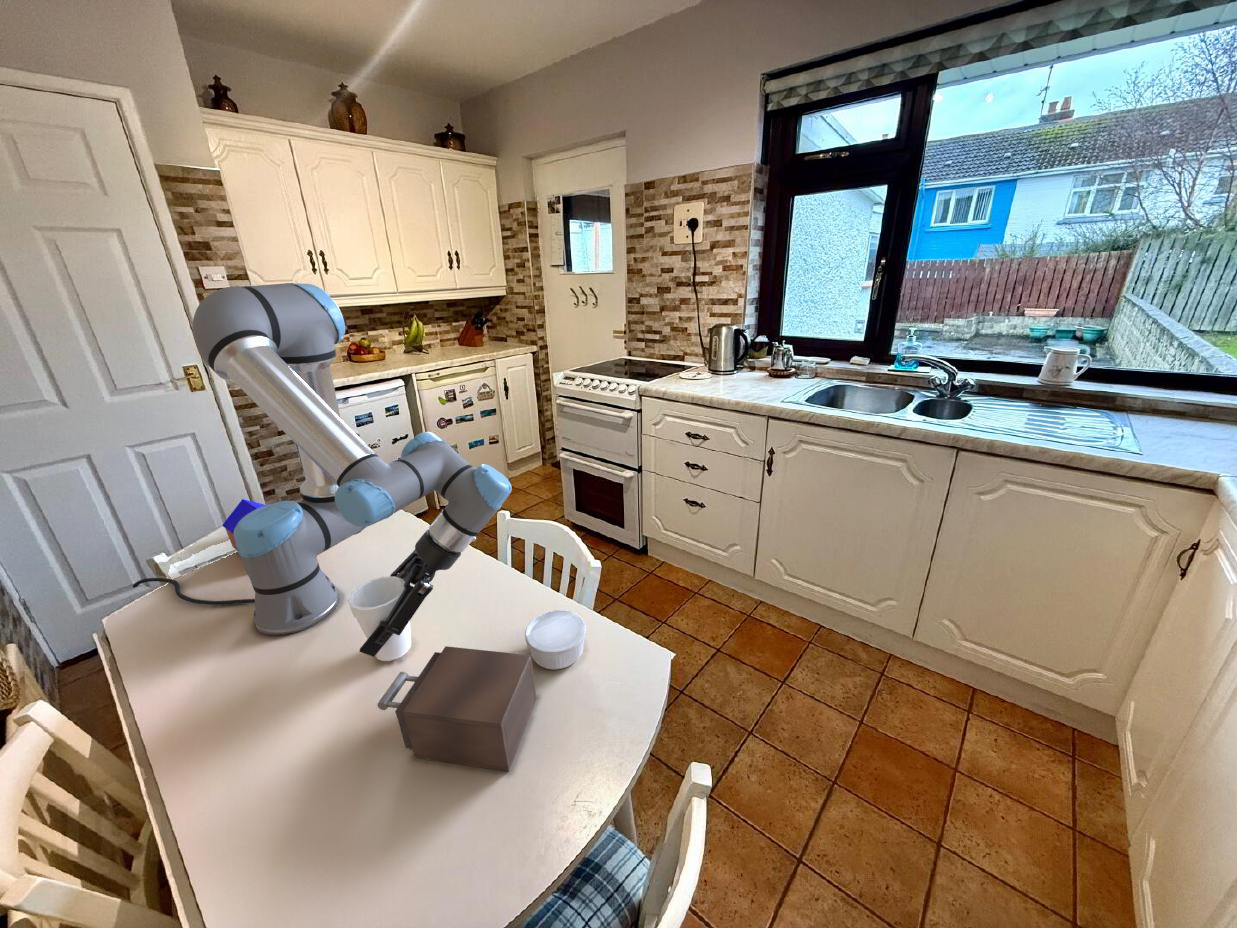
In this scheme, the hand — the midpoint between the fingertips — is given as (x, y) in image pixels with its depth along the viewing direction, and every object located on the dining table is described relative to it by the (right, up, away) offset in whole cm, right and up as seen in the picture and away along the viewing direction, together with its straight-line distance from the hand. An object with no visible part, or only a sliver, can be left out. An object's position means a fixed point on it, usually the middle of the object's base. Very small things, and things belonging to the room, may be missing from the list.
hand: (369, 633), depth 88 cm
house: (-45, +9, +38) cm, 59 cm away
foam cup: (+3, -4, +3) cm, 6 cm away
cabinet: (+24, -10, -12) cm, 29 cm away
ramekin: (+34, -4, +2) cm, 34 cm away
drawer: (+19, -9, -12) cm, 24 cm away
